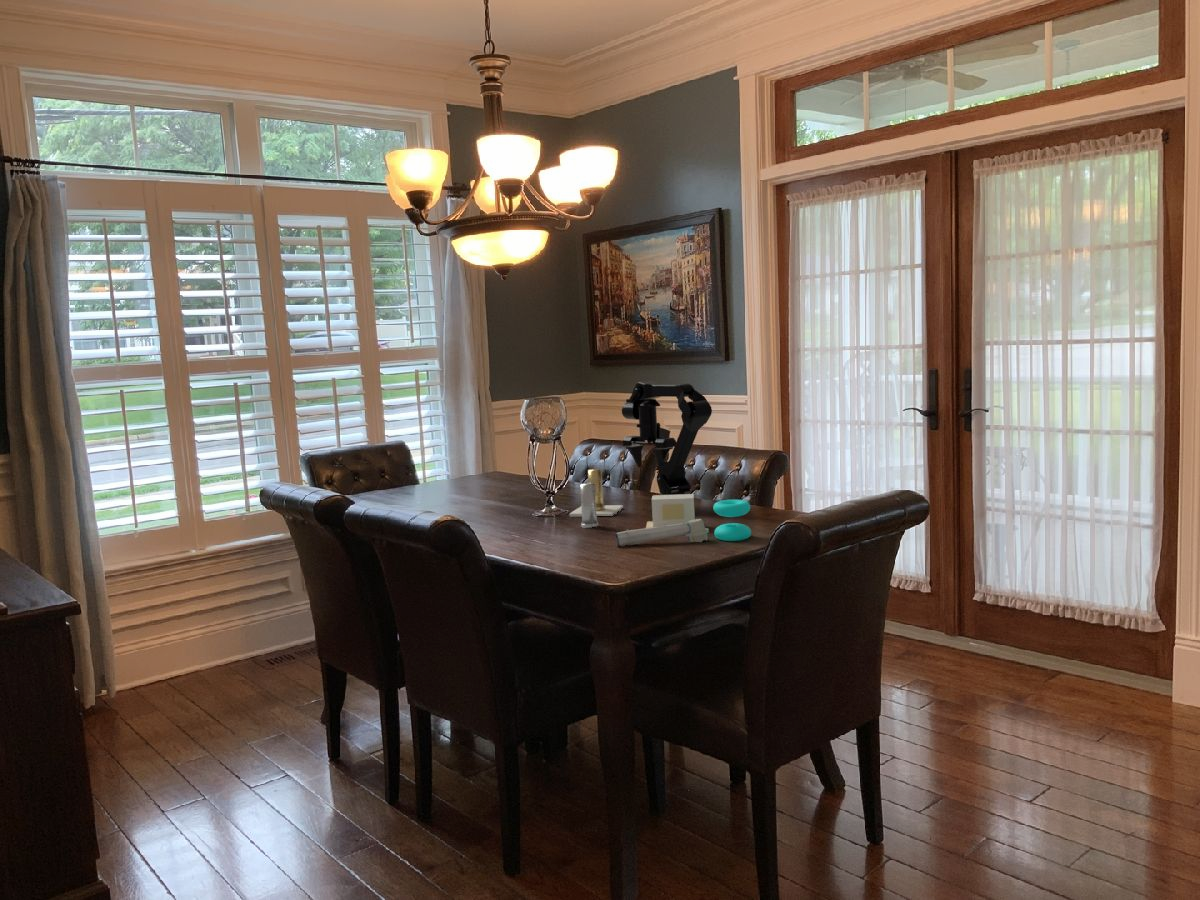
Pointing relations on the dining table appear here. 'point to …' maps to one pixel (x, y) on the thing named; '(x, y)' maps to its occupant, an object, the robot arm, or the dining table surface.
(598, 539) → the dining table surface
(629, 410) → the robot arm
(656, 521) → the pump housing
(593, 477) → the cylinder
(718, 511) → the donuts
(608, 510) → the plate
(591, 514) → the cylinder
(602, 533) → the dining table surface
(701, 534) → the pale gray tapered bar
